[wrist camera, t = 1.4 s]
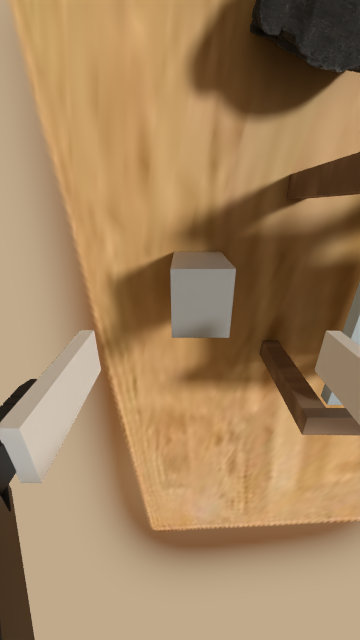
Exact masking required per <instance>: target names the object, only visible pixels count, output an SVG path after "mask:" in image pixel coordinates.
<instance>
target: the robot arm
mask: <svg viewBox="0 0 360 640" xmlns="http://www.w3.org/2000/svg"><path fill="white" fill-rule="evenodd" d="M100 371H101V367H100V362H99V357H98V350H97V345H96V339H95V334H94V330H80V331H79V333H78V334H77V335H76V336H75V337H74V338H73V340H72V341H71V342H70V343H69V344H68V345H67V346H66V347H65V349H64V350H63V351H62V352H61V353H60V354H59V355H58V357H57V358H56V359H55V360H54V361H53V362H52V364H51V365H50V366H49V367H48V368H47V369H46V370H45V372H44V373H43V374H42V375H41V376H40V377H39V378H38V379H30V380H29V381H27V382H26V383H24V384H22V385H21V386H19V387H18V388H17V389H16V390H15V392H14V393H13V394H12V395H11V397H10V398H8V399H7V400H6V401H5V402H4V403H3V405H2V406H0V640H35V639H34V634H33V627H32V620H31V613H30V607H29V601H28V594H27V588H26V582H25V575H24V568H23V562H22V555H21V549H20V542H19V536H18V529H17V523H16V516H15V511H14V504H13V497H12V491H11V488H10V486H9V483H10V481H11V480H12V478H13V476H14V475H15V473H16V474H17V476H18V478H19V480H20V482H21V483H42V482H43V480H44V478H45V476H46V474H47V472H48V470H49V468H50V466H51V465H52V462H53V461H54V459H55V457H56V455H57V453H58V451H59V449H60V447H61V445H62V444H63V442H64V440H65V438H66V436H67V434H68V432H69V430H70V428H71V426H72V424H73V422H74V420H75V419H76V417H77V415H78V413H79V411H80V409H81V407H82V405H83V403H84V401H85V399H86V398H87V395H88V394H89V392H90V390H91V388H92V386H93V384H94V382H95V380H96V378H97V376H98V375H99V373H100ZM314 371H315V372H316V373H317V374H318V376H319V377H320V378H321V379H322V380H323V382H324V383H325V384H326V385H327V386H328V388H329V389H330V390H331V391H332V392H333V394H334V395H335V396H336V397H337V398H338V400H339V401H340V402H341V403H342V404H343V406H344V407H345V408H346V409H347V410H348V412H349V413H350V414H351V415H352V416H353V418H354V419H355V420H356V421H357V423H358V424H359V425H360V346H359V345H358V344H357V343H355V342H354V341H353V340H351V339H350V338H349V337H347V336H346V335H345V334H344V333H342V332H341V331H326V333H325V336H324V340H323V343H322V347H321V350H320V353H319V357H318V360H317V364H316V367H315V370H314Z"/></svg>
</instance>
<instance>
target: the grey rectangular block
mask: <svg viewBox="0 0 360 640" xmlns="http://www.w3.org/2000/svg"><path fill="white" fill-rule="evenodd" d="M235 275H236V268H235V267H234V266H233V265H232V264H231V263H230V261H229V260H228V259H227V258H226V257H225V256H224V255H223V253H222V252H174V254H173V259H172V264H171V268H170V277H171V322H172V338H229V335H230V325H231V315H232V305H233V295H234V285H235Z"/></svg>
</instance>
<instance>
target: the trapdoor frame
mask: <svg viewBox="0 0 360 640" xmlns="http://www.w3.org/2000/svg"><path fill="white" fill-rule="evenodd" d="M354 194H360V152H359V153H356V154H352V155H349V156H346V157H343V158H340V159H337V160H334V161H331V162H328V163H325V164H321V165H318V166H315V167H312V168H309V169H306V170H303V171H300V172H297V173H294V174H291V176H290V181H289V187H288V193H287V199H299V198H319V197H330V196H342V195H354ZM260 355H261V357H262V359H263V361H264V363H265V365H266V367H267V369H268V371H269V373H270V374H271V376H272V378H273V380H274V382H275V384H276V386H277V388H278V390H279V392H280V394H281V395H282V397H283V399H284V401H285V403H286V405H287V407H288V409H289V411H290V413H291V414H292V416H293V418H294V420H295V422H296V424H297V426H298V428H299V430H300V432H301V434H302V435H360V425H359V424H358V423H357V421H356V420H355V419H354V418H353V416H352V415H351V414H350V413H349V412H348V410H347V409H346V408H326V407H325V406H324V405H323V403H322V402H321V400H320V399H319V398H318V396H317V395H316V393H315V392H314V391H313V389H312V388H311V386H310V385H309V384H308V382H307V381H306V379H305V378H304V377H303V375H302V374H301V372H300V371H299V370H298V368H297V367H296V365H295V364H294V363H293V361H292V360H291V359H290V357H289V356H288V354H287V353H286V352H285V350H284V349H283V347H282V346H281V345H280V343H279V342H278V341H262V344H261V350H260Z"/></svg>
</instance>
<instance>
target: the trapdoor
mask: <svg viewBox="0 0 360 640" xmlns="http://www.w3.org/2000/svg"><path fill="white" fill-rule="evenodd" d="M342 333H344V334H345V335H346V336H347V337H349V338H350V339H351V340H353V341H354V342H355V343H357V344H358V345H359V346H360V282H359V285H358V288H357V291H356V293H355V296H354V299H353V302H352V305H351V308H350V311H349V314H348V317H347V320H346V323H345V326H344V329H343V332H342ZM321 397H322V398H323V399H324V401H325V402H326V404H327V405H343V404H342V403H341V402H340V401H339V400H338V398H337V397H336V396H335V395H334V394H333V392H332V391H331V390H330V389H329V388H328V386H327V385H326V384H325V385H324V388H323V391H322V394H321Z"/></svg>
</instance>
